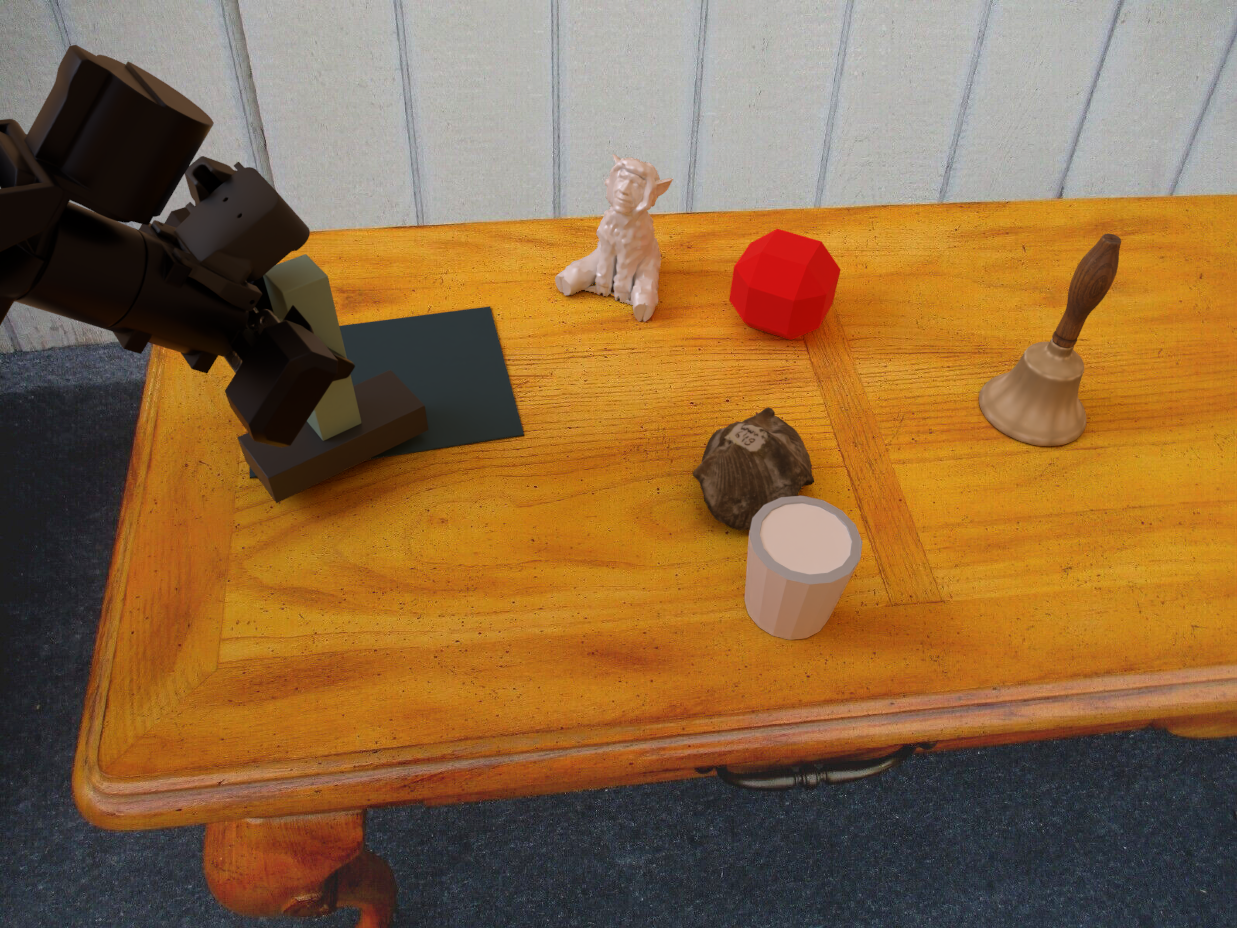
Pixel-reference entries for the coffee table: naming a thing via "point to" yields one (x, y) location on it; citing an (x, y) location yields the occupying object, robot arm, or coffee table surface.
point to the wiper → (330, 399)
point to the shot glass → (798, 565)
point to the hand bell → (1053, 364)
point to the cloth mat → (440, 374)
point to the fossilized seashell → (752, 468)
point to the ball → (784, 284)
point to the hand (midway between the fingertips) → (339, 357)
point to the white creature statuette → (623, 241)
